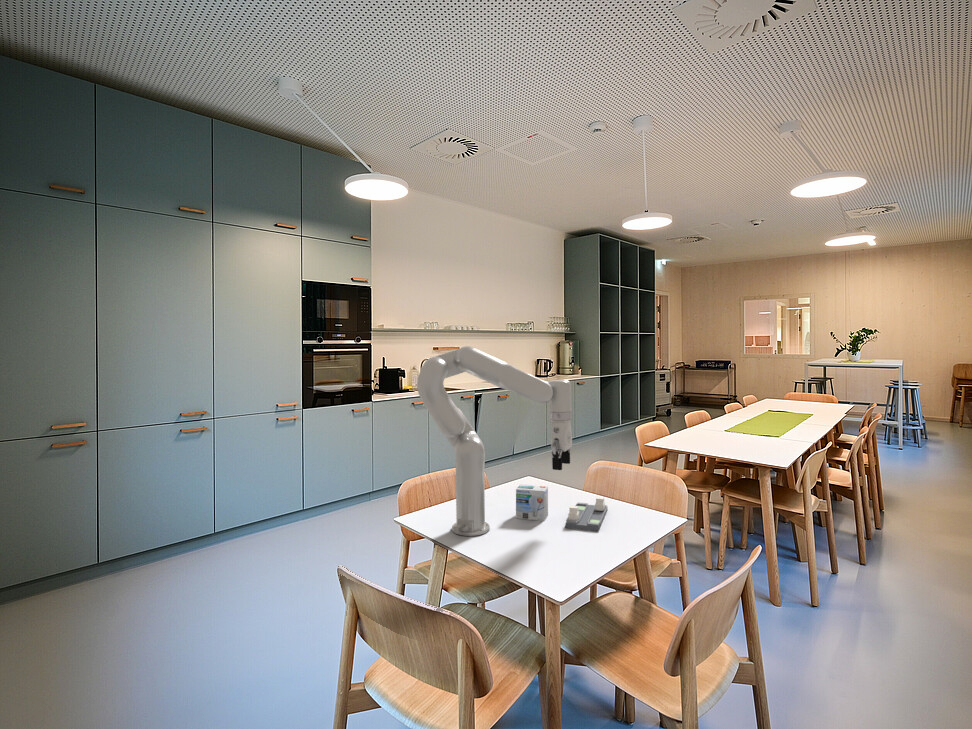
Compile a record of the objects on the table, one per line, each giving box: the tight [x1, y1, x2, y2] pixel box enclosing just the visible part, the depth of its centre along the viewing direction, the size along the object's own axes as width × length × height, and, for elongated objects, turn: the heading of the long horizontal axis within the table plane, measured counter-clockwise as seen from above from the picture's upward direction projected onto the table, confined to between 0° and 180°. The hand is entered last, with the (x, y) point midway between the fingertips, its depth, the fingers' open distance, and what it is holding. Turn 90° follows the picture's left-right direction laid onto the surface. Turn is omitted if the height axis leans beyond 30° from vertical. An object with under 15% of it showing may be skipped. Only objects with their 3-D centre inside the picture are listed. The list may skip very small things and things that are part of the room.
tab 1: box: [567, 505, 579, 521], centre depth 172 cm, size 4×3×4 cm
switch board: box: [565, 502, 609, 533], centre depth 177 cm, size 23×11×2 cm, turn 159°
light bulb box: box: [515, 484, 549, 522], centre depth 180 cm, size 11×7×11 cm, turn 73°
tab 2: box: [594, 496, 606, 511], centre depth 182 cm, size 4×3×4 cm
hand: (561, 466), depth 171 cm, fingers open, 9 cm apart
